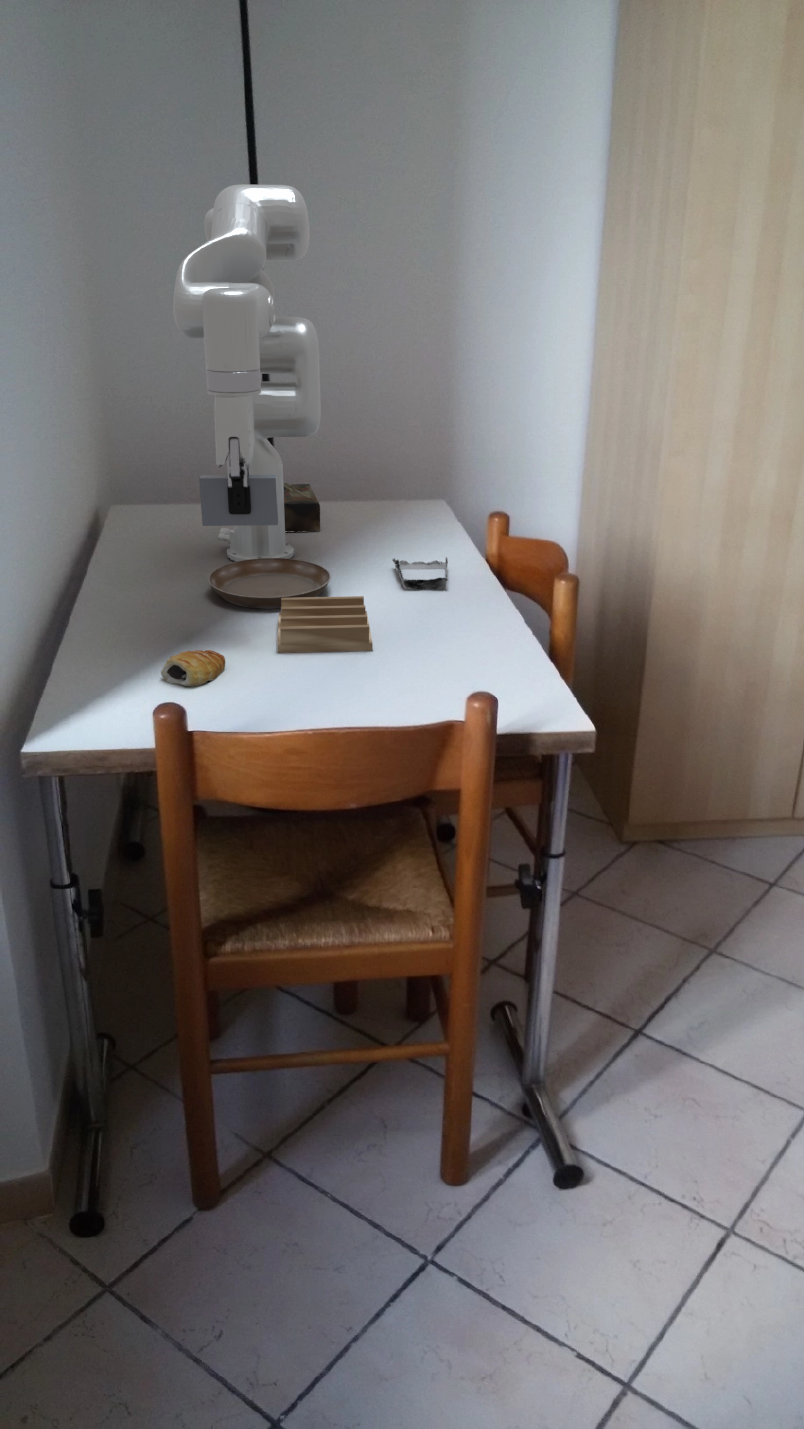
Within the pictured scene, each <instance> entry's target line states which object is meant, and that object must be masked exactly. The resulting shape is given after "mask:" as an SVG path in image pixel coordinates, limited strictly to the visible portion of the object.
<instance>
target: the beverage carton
mask: <svg viewBox="0 0 804 1429" xmlns="http://www.w3.org/2000/svg"><path fill="white" fill-rule="evenodd" d="M283 489H284V516H285V531H319V530H320V531H321V505H320V502H319V501H318V498H317V497H316V495H315V493H314V490H313V489H312V486H311V485H310V483H289V482H284V481H283ZM320 531H319V532H320Z"/></svg>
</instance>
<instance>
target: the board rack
mask: <svg viewBox="0 0 804 1429" xmlns="http://www.w3.org/2000/svg"><path fill="white" fill-rule="evenodd" d="M364 601H365V599H364V596H363V595H362V596H361V595H360V596H357V595H356V596H355V595H354V596H317V597H299V598H281V608H280V612H278V624H277V625H278V626H277V653H278V654H286V653H287V654H289V653H290V654H292V653H294V654H295V653H296V654H298V653H330V652H331V653H332V652H371V651H373V644H374V642H373V640H372V639H373V637H372V634H371V633H372V632H371V629H370V628H371V627H370V622H369V616H368V611H367V610H366V605H365V602H364Z"/></svg>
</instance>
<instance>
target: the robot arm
mask: <svg viewBox="0 0 804 1429" xmlns="http://www.w3.org/2000/svg"><path fill="white" fill-rule="evenodd" d="M203 225H204V235H205V238H206V242H204V243H203V244H201V245H200V246H198V247H197V248H195V249H194V250H193V251H191V252H190V253H189V254H187V256H185V258H184V259H183V260H182V261H181V263H180V264H179V267H178V269H177V271H176V276H175V283H174V291H173V300H172V304H173V306H172V307H173V308H172V311H173V319H174V322H175V326H176V327H177V329H178V331H179V332H180V333H181V334H182V335H184V336H186V337H188V338H191V339H203V343H204V344H203V345H204V360H205V374H206V375H205V376H206V389H207V392H206V393H207V394H208V395H209V396H214V408H213V409H214V411H213V412H214V438H215V441H214V442H215V444H214V445H215V465H216V467H217V468H220V469H221V468H222V466H225V464H226V465H227V466H226V470H227V475H228V487H227V489H228V507H229V513H230V514H250V513H251V499H250V486H248V477H247V475H276V479H277V503H278V525H247V526H233V529H231V528H226V527H221V528H220V530H219V533H218V537H217V538H218V540H219V541H221V542H228V543H229V547H228V548H227V549H226V557H227V558H228V559H229V558H230V559H229V560H231V561H234V562H237V561H242V560H249V559H258V558H288V559H292V557H294V555H295V548H294V546H293V545H291V544H289V543H287V542H286V532H285V516H284V489H283V483H284V468H283V467H284V465H283V460H282V458H281V455H280V454H279V452H278V451H277V450H276V448H275V447H274V446H273V445H272V444H271V442H270V441H269V440H268V439H269V438H276V437H277V438H286V437H287V438H291V437H292V438H294V437H295V438H303V437H310V436H313V435H315V434H316V433H317V432H318V431H319V428H320V424H321V415H322V414H321V413H322V412H321V411H322V408H321V400H322V399H321V377H320V375H321V373H320V370H321V369H320V350H319V349H320V348H319V346H320V345H319V338H318V333H317V330H316V327H315V325H314V324H313V322H312V321H311V320H309V319H307V318H304V317H299V316H277V315H276V305H275V304H276V302H275V300H276V299H275V287H274V284H273V282H272V281H271V279H270V278H269V276H268V275H267V273H266V272H265V271H264V267H265V265H266V262H267V261H296V260H297V261H298V260H301V259H302V258H304V257H305V256H306V255H307V253H308V252H307V251H308V249H309V247H310V246H309V245H310V238H311V232H310V229H311V228H310V221H309V213H308V208H307V204H306V201H305V198H304V196H303V195H302V193H301V192H300V191H299V190H298V189H296V188H295V187H294V186H292V185H287V184H286V185H285V184H247V183H246V184H244V183H243V184H241V183H240V184H233V185H229V186H227V187H225V188H224V189H222V190H221V191H220V192H219V193H218V194H217V196H216V198H215V200H214V204H213V207H212V208H211V209H209V210H208V211H207V212H206V213H205V217H204V224H203ZM262 374H265V375H266V374H269V375H271V374H272V375H273V374H274V375H275V374H276V375H277V374H278V375H281V374H282V375H283V374H284V375H285V374H286V375H290V376H292V377H294V380H295V381H261V379H262V378H261V377H262V376H261V375H262Z"/></svg>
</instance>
